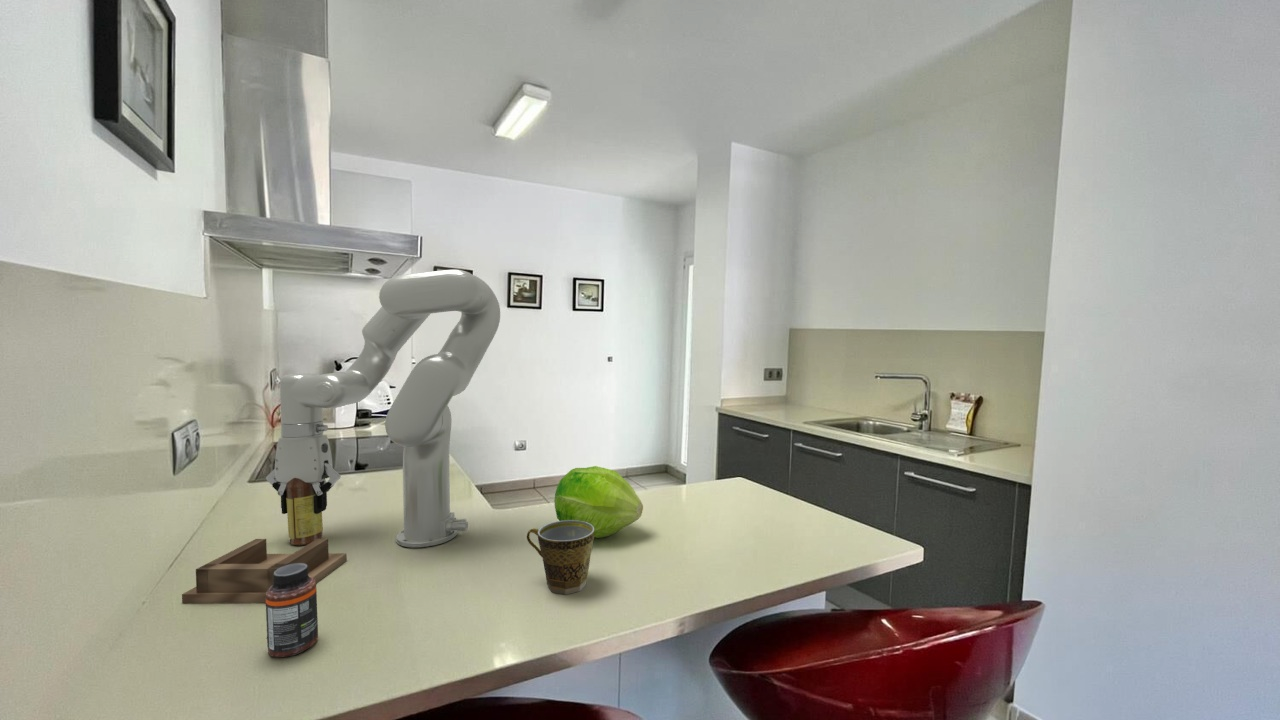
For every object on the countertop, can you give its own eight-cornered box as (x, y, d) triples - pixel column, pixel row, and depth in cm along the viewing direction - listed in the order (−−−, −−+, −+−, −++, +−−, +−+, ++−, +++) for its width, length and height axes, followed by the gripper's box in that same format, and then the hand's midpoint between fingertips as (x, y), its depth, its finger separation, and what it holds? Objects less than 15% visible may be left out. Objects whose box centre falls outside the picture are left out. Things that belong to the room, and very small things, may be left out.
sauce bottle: (329, 536, 111) (327, 448, 111) (308, 547, 105) (306, 454, 104) (302, 535, 112) (300, 447, 111) (279, 546, 106) (277, 454, 105)
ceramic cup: (603, 577, 91) (603, 523, 91) (579, 604, 82) (579, 544, 81) (541, 567, 95) (541, 515, 95) (512, 591, 86) (511, 534, 86)
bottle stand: (346, 560, 99) (346, 533, 98) (289, 602, 83) (289, 570, 82) (256, 561, 99) (255, 533, 98) (182, 603, 83) (181, 570, 82)
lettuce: (625, 563, 102) (629, 494, 99) (538, 542, 108) (540, 477, 105) (648, 525, 118) (652, 465, 115) (571, 509, 123) (573, 452, 121)
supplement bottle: (284, 635, 73) (282, 560, 73) (326, 633, 74) (324, 558, 73) (256, 661, 67) (254, 579, 67) (303, 658, 68) (300, 577, 67)
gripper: (352, 427, 112) (353, 506, 112) (275, 427, 112) (277, 506, 112) (331, 433, 104) (333, 517, 105) (249, 433, 104) (251, 518, 105)
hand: (304, 511), depth 108 cm, fingers closed on sauce bottle, 6 cm apart
